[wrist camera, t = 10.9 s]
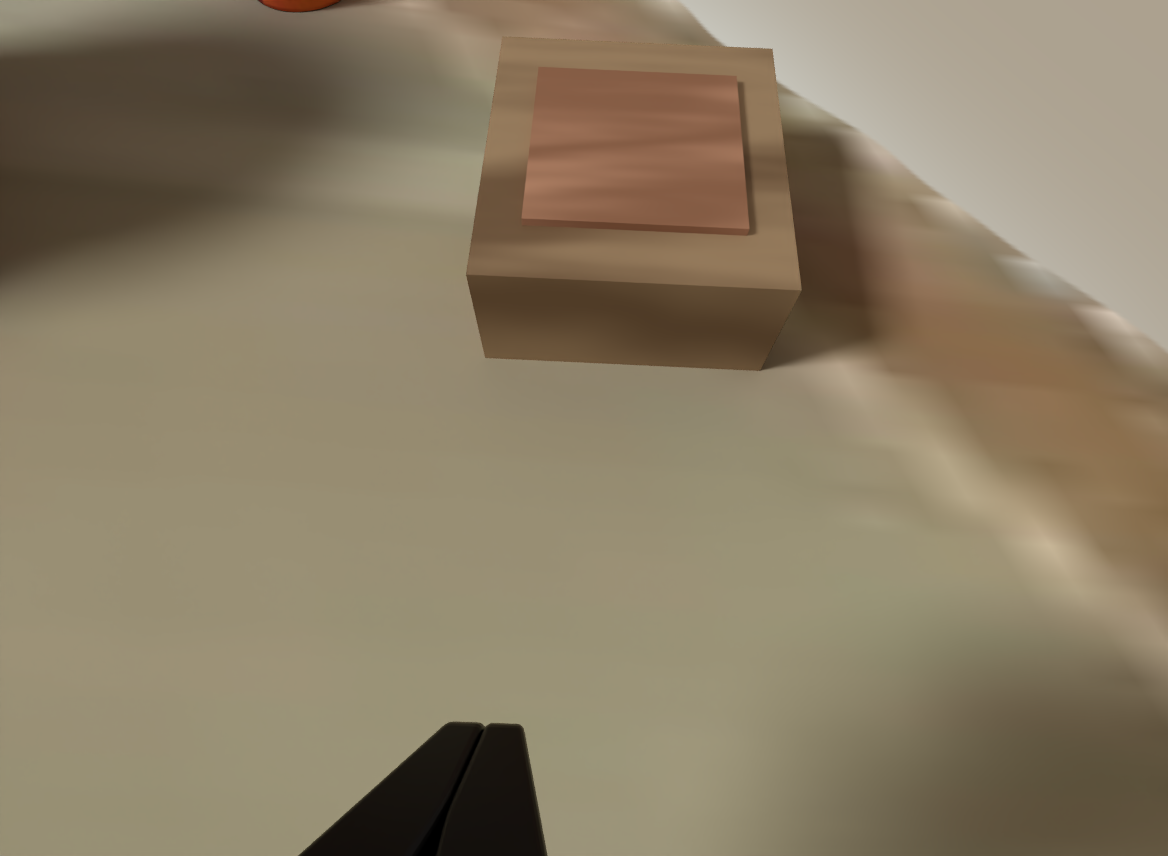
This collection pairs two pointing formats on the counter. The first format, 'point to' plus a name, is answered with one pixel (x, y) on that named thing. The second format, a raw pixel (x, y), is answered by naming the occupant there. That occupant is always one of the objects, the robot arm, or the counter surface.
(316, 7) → the paper cup
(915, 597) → the counter surface
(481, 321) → the wooden box
